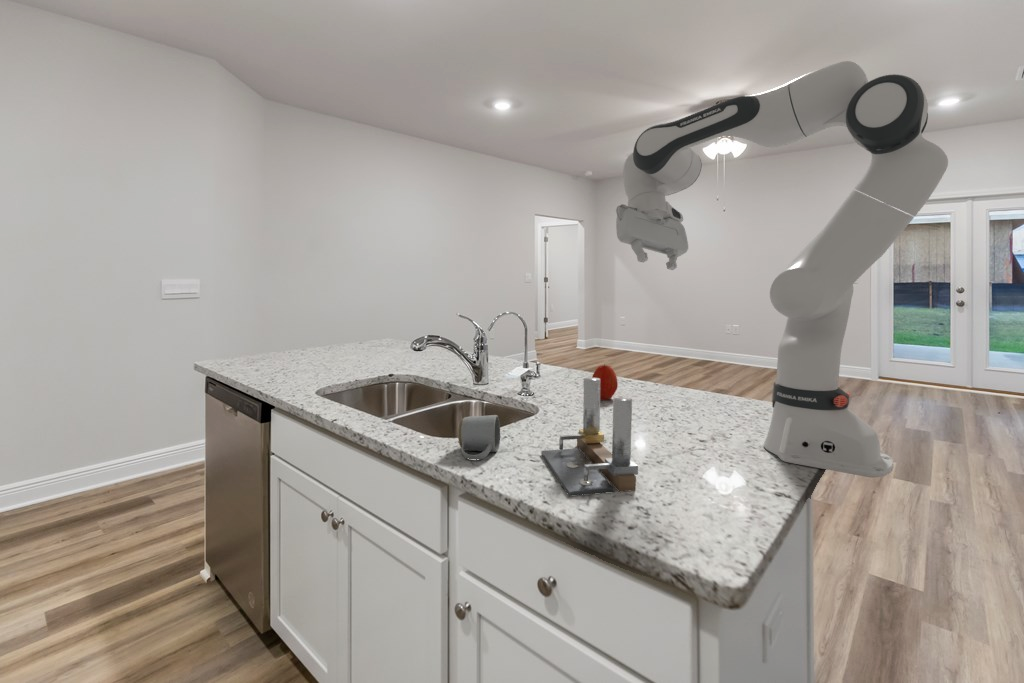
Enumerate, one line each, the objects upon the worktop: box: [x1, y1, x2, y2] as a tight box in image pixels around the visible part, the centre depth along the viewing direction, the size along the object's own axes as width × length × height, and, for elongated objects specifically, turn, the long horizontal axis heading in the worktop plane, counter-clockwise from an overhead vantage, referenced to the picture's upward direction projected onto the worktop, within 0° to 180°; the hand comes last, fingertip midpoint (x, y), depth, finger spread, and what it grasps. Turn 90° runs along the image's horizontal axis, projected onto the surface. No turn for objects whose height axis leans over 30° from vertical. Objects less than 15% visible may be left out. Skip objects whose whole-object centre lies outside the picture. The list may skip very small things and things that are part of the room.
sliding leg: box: [558, 377, 605, 450], centre depth 102 cm, size 4×9×14 cm, turn 100°
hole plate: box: [540, 447, 615, 497], centre depth 94 cm, size 20×8×1 cm, turn 10°
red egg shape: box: [591, 363, 619, 401], centre depth 149 cm, size 8×8×11 cm
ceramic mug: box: [457, 414, 501, 460], centre depth 104 cm, size 11×8×8 cm
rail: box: [576, 439, 637, 492], centre depth 97 cm, size 24×3×2 cm, turn 10°
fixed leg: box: [584, 396, 639, 481], centre depth 87 cm, size 4×9×14 cm, turn 100°
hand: (657, 264), depth 113 cm, fingers open, 8 cm apart
